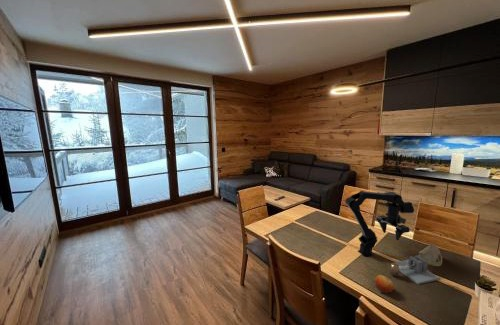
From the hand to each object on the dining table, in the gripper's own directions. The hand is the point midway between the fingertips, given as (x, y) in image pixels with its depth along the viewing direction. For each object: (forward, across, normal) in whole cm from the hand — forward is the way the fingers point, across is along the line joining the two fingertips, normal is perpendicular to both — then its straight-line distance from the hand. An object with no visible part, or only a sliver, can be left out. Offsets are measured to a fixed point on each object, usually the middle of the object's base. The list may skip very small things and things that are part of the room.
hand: (390, 236), depth 131 cm
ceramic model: (+12, -11, -19) cm, 25 cm away
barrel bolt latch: (+12, -17, +1) cm, 21 cm away
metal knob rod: (+11, -17, +7) cm, 21 cm away
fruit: (+12, -24, +28) cm, 39 cm away
